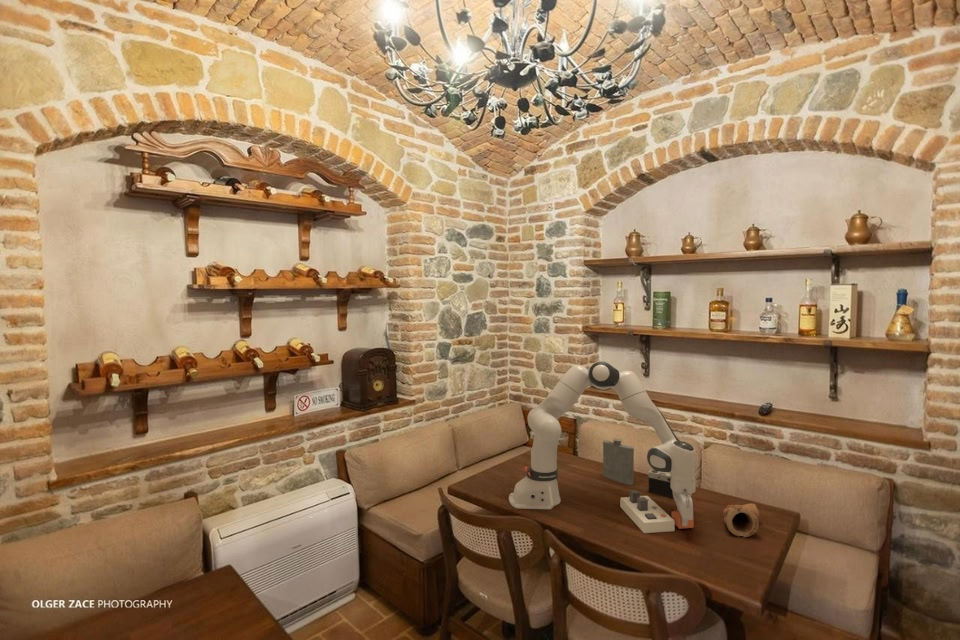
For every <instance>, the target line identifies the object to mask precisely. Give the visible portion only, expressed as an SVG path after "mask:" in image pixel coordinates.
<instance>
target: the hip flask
mask: <svg viewBox="0 0 960 640" xmlns="http://www.w3.org/2000/svg"><path fill="white" fill-rule="evenodd" d="M634 450H635V447H633V446H631V445H626V444H622V439H620V438H614V439H613V440H612V441H611V440H607V439H606V440H603V441H602V456H603V457H602V460H603V461H602V464H603V465H602V466H603V467H602V470H603V471H602V475H603V476H604V477H603V478H605V477H606V479H608V480H610V479H611V481H613V480H614V482H616V481H617V483H619V482H620V484H623V483H624V485H627V484H628V485H627V486H634V485H635V484H634V477H635V475H634V472H635V471H634V469H635V465H634V459H635V458H634V456H635V454H634V453H635V451H634ZM633 484H634V485H633Z"/></svg>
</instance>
